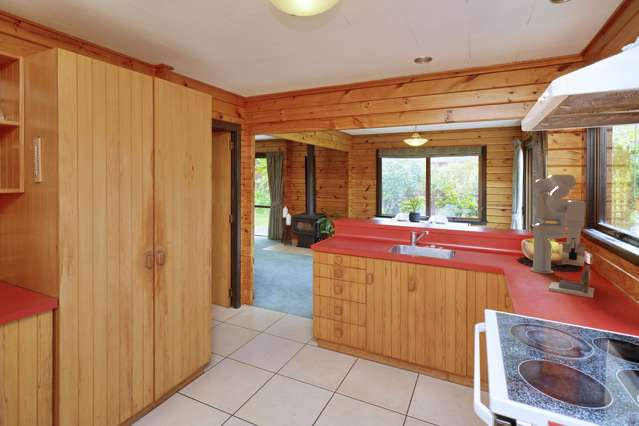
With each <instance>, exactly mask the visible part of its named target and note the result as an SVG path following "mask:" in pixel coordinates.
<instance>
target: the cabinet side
mask: <svg viewBox="0 0 639 426" xmlns="http://www.w3.org/2000/svg"><path fill="white" fill-rule="evenodd" d="M590 266H591V265H588V264H585V266H584V267H585V268H584V272H583V271H581V274H580V282H579V283H580V286H584V292H583V293H587V292H588V287H589V284H590ZM589 288H590V287H589Z"/></svg>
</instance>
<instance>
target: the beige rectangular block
mask: <svg viewBox="0 0 639 426" xmlns="http://www.w3.org/2000/svg"><path fill="white" fill-rule="evenodd" d="M566 244H567V241H565V242H564V241H563V242H562V252H561V253H562V254H561V264H563V265H573V266H580V267H581V266H582V267H585V253H586V243H581V242H579V246H577V251H576V252H577V260H569V252H570V245H568V246H567V245H566ZM574 246H576V245H574Z"/></svg>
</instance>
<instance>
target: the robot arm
mask: <svg viewBox="0 0 639 426" xmlns="http://www.w3.org/2000/svg"><path fill="white" fill-rule="evenodd" d="M576 185H577V180H576V177H575V175H573V174H551V175H548V176H547V177H546V178H540V179H536V180H534V182H533V185H532V191H533V196H534V197H535V217H536V219H537V220H538V221H540V223H536V224H534V225H533V228H532V233H533V260H532V262H533V263H532V267H530V268H529V269H530V271H531V272H533V273H537V274H554V270H553V269H551V267H552V249H553V248H552V247H553V246H552V242H550V240H549V239H563V238H565V237H566V242H567V244H566V245H567V246H568V245H570V252H569V260H577V252H576V251H577V246H579V243H581V235H582V234H581V233H582V232H581V231H582V228H585V215H586V214H585V211H586V202H585V201H584V200H578V199H565V198H566V197H568V196H569V194H570V191H571V190H572V189H574V188H575V186H576ZM550 222H552V223H550ZM553 222H555V223H553ZM574 245H576V246H574Z"/></svg>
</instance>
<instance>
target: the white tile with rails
mask: <svg viewBox="0 0 639 426" xmlns="http://www.w3.org/2000/svg"><path fill="white" fill-rule="evenodd" d="M580 283H581V282H575V281H569V280H568V281H567V280H561V279H560V281H559V282H556V281H555V282H554V281H552V282H551V283H550V285H549V286H548V291H550V292H557V293H561V292H562V294H569V295H574V296H580V297H586V298H594V292H595V288H593V287H588V292H587V293H583V292H584V286H580Z"/></svg>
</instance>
